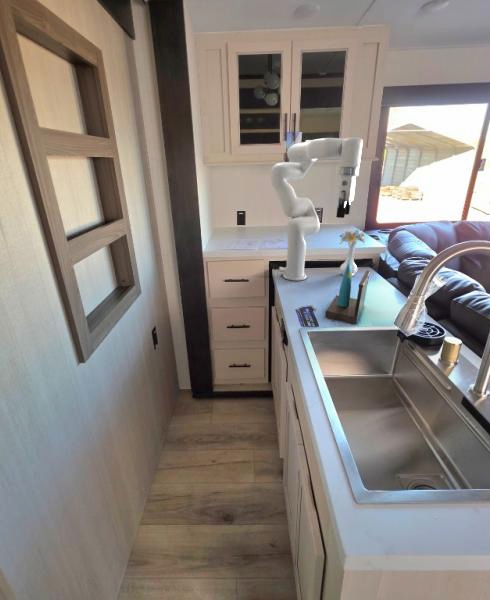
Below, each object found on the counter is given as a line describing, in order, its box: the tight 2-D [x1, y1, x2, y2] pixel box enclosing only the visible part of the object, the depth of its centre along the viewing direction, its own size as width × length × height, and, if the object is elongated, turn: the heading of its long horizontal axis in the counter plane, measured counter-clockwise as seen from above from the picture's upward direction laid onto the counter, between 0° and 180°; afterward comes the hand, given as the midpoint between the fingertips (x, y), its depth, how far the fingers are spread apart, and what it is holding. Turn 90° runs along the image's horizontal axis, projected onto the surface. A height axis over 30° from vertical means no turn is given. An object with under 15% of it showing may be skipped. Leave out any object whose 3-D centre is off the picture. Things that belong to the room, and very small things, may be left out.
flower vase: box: [339, 228, 366, 277], centre depth 169 cm, size 13×18×25 cm
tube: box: [337, 259, 353, 307], centre depth 126 cm, size 7×5×19 cm, turn 162°
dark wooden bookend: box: [324, 270, 371, 325], centre depth 127 cm, size 12×18×16 cm
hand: (342, 215), depth 133 cm, fingers open, 9 cm apart
